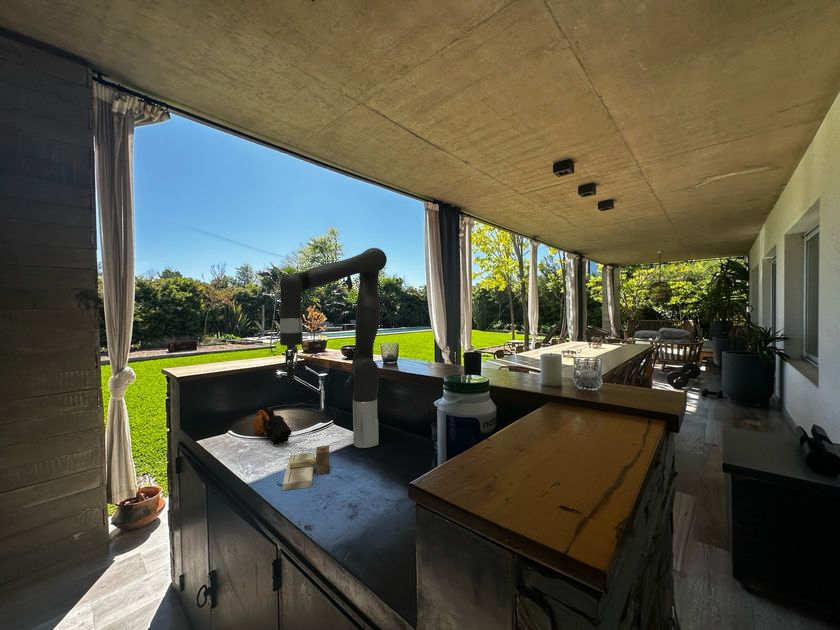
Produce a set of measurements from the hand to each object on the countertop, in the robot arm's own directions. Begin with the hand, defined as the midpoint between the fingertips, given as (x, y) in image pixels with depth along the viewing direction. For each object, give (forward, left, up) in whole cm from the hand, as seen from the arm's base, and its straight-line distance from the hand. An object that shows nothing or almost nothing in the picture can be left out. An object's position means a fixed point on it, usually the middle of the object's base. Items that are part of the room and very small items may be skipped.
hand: (291, 377), depth 121 cm
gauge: (-7, +14, -28) cm, 32 cm away
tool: (+10, -19, -28) cm, 35 cm away
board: (-4, +14, -28) cm, 32 cm away
